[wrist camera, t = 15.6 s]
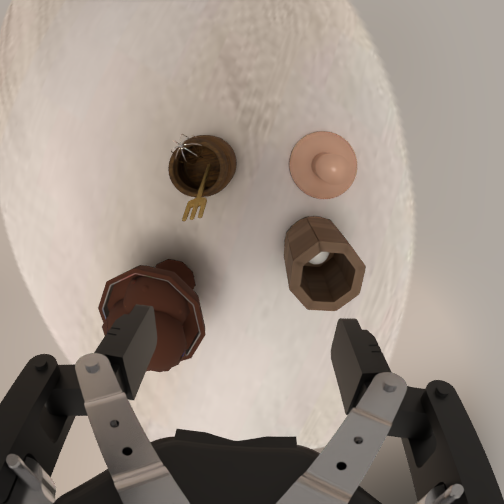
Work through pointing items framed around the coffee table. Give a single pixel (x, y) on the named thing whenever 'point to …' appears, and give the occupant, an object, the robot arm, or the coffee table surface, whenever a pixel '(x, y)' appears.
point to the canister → (321, 265)
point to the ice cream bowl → (159, 308)
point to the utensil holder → (201, 169)
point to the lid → (323, 165)
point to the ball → (319, 258)
